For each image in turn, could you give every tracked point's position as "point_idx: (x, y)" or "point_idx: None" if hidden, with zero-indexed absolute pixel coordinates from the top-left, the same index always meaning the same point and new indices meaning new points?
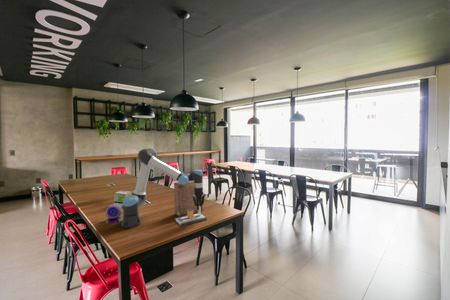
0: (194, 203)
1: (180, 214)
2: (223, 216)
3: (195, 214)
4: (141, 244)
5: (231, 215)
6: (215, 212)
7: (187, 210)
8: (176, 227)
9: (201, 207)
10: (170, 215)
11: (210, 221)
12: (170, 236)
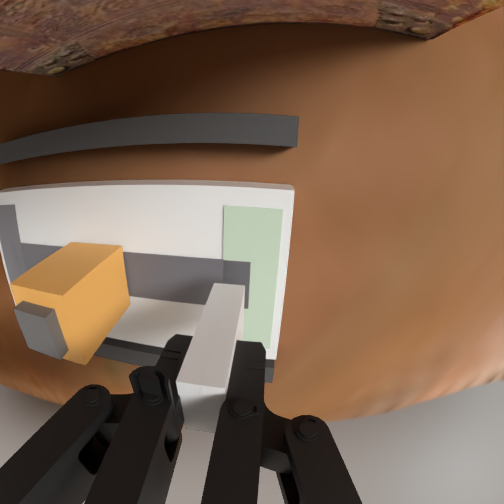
0: (49, 428)
1: (52, 69)
2: (442, 371)
3: (206, 199)
4: None
5: (481, 377)
6: (490, 237)
7: (11, 286)
8: (14, 317)
9: (439, 23)
10: None
11: (280, 405)
12: (10, 376)
